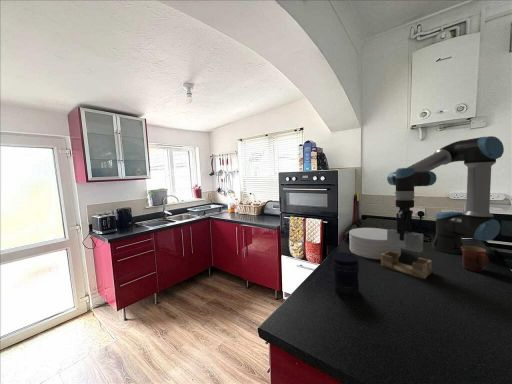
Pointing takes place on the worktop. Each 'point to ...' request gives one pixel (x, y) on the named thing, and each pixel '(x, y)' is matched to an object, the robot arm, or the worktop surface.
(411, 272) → the posts
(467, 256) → the mug
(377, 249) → the plate stack
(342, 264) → the storage jar
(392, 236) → the grey block
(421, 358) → the worktop surface
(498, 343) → the worktop surface
